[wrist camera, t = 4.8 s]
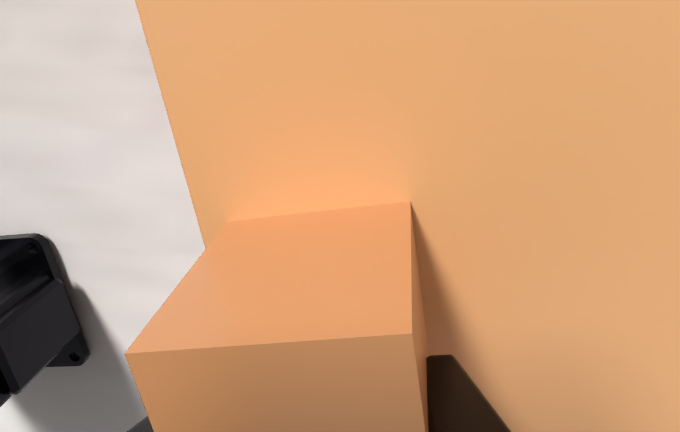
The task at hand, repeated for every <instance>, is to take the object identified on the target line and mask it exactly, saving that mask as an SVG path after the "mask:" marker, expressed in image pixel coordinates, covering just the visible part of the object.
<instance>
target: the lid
mask: <svg viewBox="0 0 680 432" xmlns="http://www.w3.org/2000/svg"><path fill="white" fill-rule="evenodd" d="M135 2H136V5H137V9H138V12H139V16H140V19H141V23H142V26H143V30H144V34H145V37H146V41H147V44H148V48H149V51H150V55H151V58H152V62H153V65H154V69H155V72H156V76H157V79H158V83H159V86H160V90H161V93H162V97H163V100H164V104H165V107H166V111H167V115H168V118H169V122H170V125H171V129H172V132H173V136H174V139H175V143H176V146H177V150H178V153H179V157H180V160H181V164H182V167H183V171H184V174H185V178H186V181H187V185H188V188H189V192H190V195H191V199H192V203H193V206H194V210H195V213H196V217H197V220H198V224H199V227H200V231H201V234H202V238H203V241H204V245H205V248H206V250H205V251H204V252H203V253H202V255H201V256H200V257H199V259H198V260H197V261H196V262H195V264H194V265H193V266H192V268H191V269H190V270H189V271H188V273H187V274H186V275H185V277H184V278H183V279H182V280H181V282H180V283H179V284H178V286H177V287H176V288H175V289H174V291H173V292H172V293H171V295H170V296H169V297H168V298H167V300H166V301H165V302H164V304H163V305H162V306H161V307H160V309H159V310H158V311H157V313H156V314H155V315H154V316H153V318H152V319H151V320H150V322H149V323H148V324H147V325H146V327H145V328H144V329H143V331H142V332H141V333H140V334H139V336H138V337H137V338H136V340H135V341H134V342H133V343H132V345H131V346H130V347H129V349H128V350H127V351H126V352H125V356H126V359H127V361H128V364H129V367H130V369H131V372H132V375H133V377H134V380H135V383H136V385H137V388H138V391H139V393H140V396H141V399H142V401H143V404H144V407H145V409H146V412H147V415H148V417H149V420H150V423H151V425H152V428H153V431H154V432H429V426H428V404H427V364H426V358H427V357H428V356H430V355H445V354H451V355H453V356H454V357H455V358H456V359H457V360H458V362H459V363H460V364H461V366H462V367H463V368H464V370H465V371H466V372H467V373H468V375H469V376H470V377H471V379H472V380H473V381H474V383H475V384H476V385H477V387H478V388H479V389H480V391H481V392H482V393H483V395H484V396H485V397H486V399H487V400H488V401H489V403H490V404H491V405H492V407H493V408H494V409H495V410H496V412H497V413H498V414H499V416H500V417H501V418H502V420H503V421H504V422H505V424H506V425H507V426H508V428H509V429H510V430H511V432H680V0H135Z"/></svg>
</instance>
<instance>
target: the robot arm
mask: <svg viewBox="0 0 680 432" xmlns="http://www.w3.org/2000/svg"><path fill="white" fill-rule="evenodd" d="M33 244H35V245H36V246H37V248H38V249H37V248H35V247H34V246H33ZM77 354H78V355H77ZM89 355H90V353H89V349H88V347H87V344H86V341H85V339H84V336H83V333H82V331H81V328H80V325H79V323H78V320H77V317H76V315H75V312H74V310H73V307H72V304H71V302H70V299H69V296H68V294H67V291H66V288H65V286H64V283H63V280H62V278H61V275H60V272H59V270H58V267H57V264H56V262H55V259H54V256H53V254H52V251H51V248H50V246H49V243H48V241H47V240H46V239H45V238H44V237H43V236H42V235H40V234H35V233H32V234H19V235H6V236H0V407H1V406H2V405H3V404H4V403H5V402H6V401H7V400H8V399H9V398H10V397H11V396H12V395H13V394H18V393H20V392H21V391H22V390H23V389H24V388H25V387H26V386H27V385H28V384H29V383H30V381H31V380H32V379H33V378H34V377H35V376H36V375H37V374H38V373H39V372H40V371H41V370H42V369H43V368H44V367H58V366H80V365H82V364H83V363H84V362H85V361H86V360H87V359H88V358H89ZM426 364H427V404H428V426H429V432H511V430H510V429H509V428H508V426H507V425H506V424H505V422H504V421H503V420H502V418H501V417H500V416H499V414H498V413H497V412H496V410H495V409H494V408H493V407H492V405H491V404H490V403H489V401H488V400H487V399H486V397H485V396H484V395H483V393H482V392H481V391H480V389H479V388H478V387H477V385H476V384H475V383H474V381H473V380H472V379H471V377H470V376H469V375H468V373H467V372H466V371H465V370H464V368H463V367H462V366H461V364H460V363H459V362H458V360H457V359H456V358H455V357H454V356H453V355H451V354H445V355H430V356H428V357H427V358H426ZM127 432H154V431H153V428H152V425H151V423H150V420H149V417H148V416H147V417H146V418H145V419H143V420H142V421H141V422H139V423H138V424H137V425H135V426H134V427H133V428H131V429H130V430H129V431H127Z"/></svg>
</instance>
